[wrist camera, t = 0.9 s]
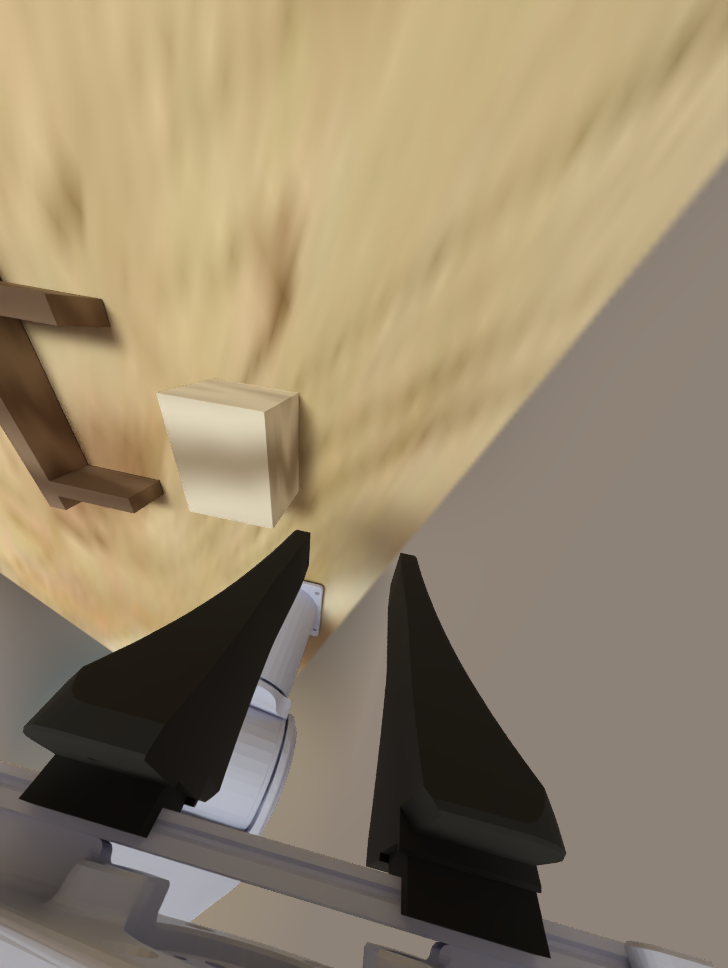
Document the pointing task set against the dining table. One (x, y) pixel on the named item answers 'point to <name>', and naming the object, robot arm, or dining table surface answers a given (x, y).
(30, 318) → the walnut stop
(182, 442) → the maple block
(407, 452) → the dining table surface
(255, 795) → the robot arm
